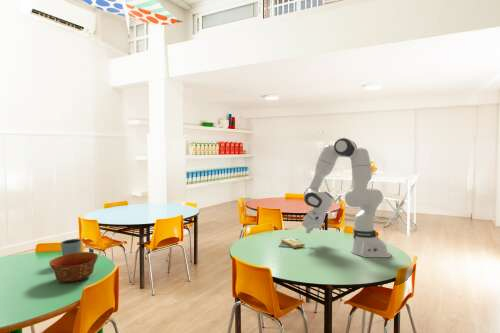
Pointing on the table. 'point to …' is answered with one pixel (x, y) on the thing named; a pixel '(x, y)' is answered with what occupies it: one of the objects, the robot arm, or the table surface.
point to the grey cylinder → (71, 246)
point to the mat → (285, 245)
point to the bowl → (73, 266)
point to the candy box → (293, 242)
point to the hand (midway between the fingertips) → (307, 232)
